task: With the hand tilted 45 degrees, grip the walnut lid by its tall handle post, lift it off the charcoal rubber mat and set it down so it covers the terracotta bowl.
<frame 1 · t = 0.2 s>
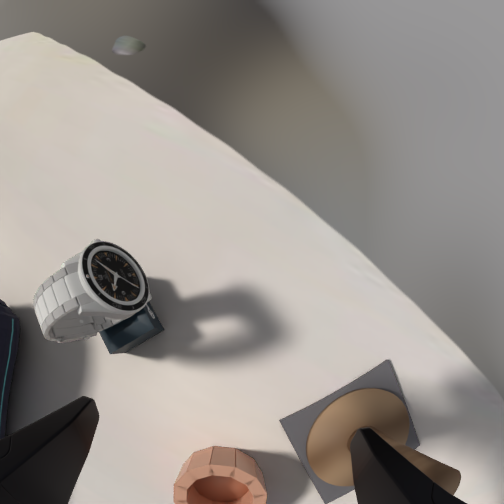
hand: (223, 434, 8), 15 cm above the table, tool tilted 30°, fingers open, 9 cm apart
lid: (359, 438, 20), resting on mat
watch: (130, 313, 23), on the table
bowl: (221, 478, 19), on the table
mat: (357, 437, 20), on the table
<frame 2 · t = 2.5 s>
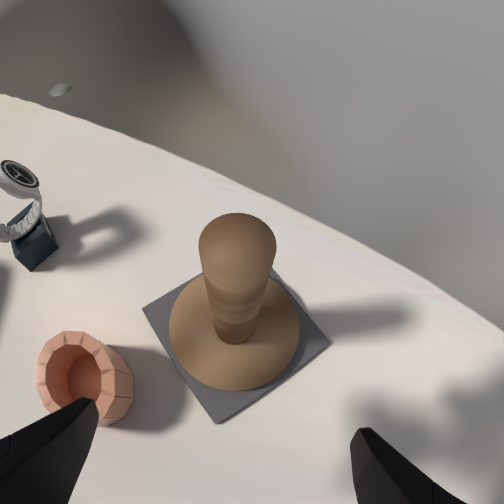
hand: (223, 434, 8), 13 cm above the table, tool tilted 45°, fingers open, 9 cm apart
lid: (234, 328, 22), resting on mat
watch: (39, 243, 25), on the table
bowl: (95, 384, 19), on the table
mat: (234, 329, 22), on the table
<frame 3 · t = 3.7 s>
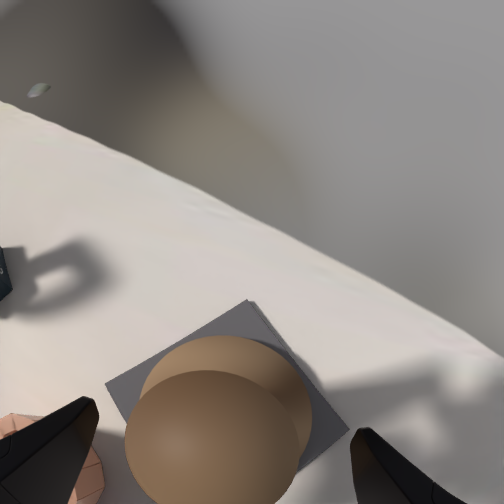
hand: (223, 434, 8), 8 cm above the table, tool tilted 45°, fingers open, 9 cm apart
lid: (224, 417, 15), resting on mat
bowl: (60, 464, 11), on the table
mat: (224, 417, 15), on the table
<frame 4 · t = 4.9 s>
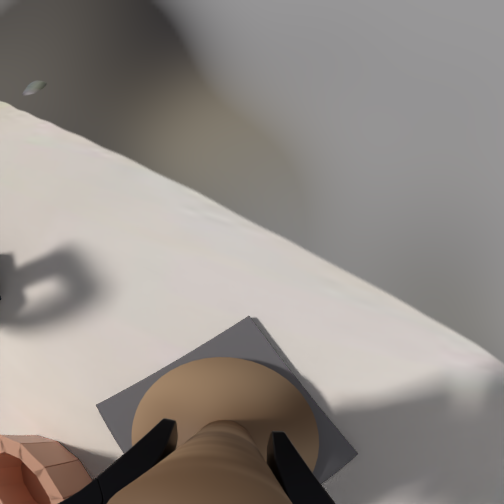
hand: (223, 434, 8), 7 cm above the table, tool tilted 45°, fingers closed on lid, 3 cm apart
lid: (224, 444, 13), resting on mat, touching gripper
bowl: (53, 483, 10), on the table
mat: (224, 443, 13), on the table
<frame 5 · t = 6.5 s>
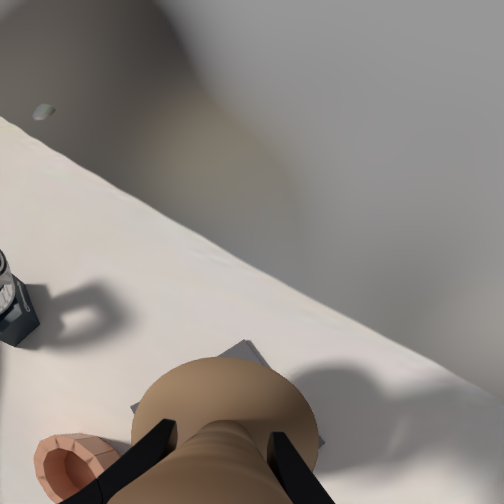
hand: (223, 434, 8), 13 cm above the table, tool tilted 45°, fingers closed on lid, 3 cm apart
lid: (224, 443, 13), point 7 cm above the table, touching gripper
watch: (20, 314, 21), on the table
bowl: (92, 471, 15), on the table
mat: (226, 431, 19), on the table
when the fingers open (12 cm above the table, at t = 8.3 s): lid drops 1 cm, resting on bowl.
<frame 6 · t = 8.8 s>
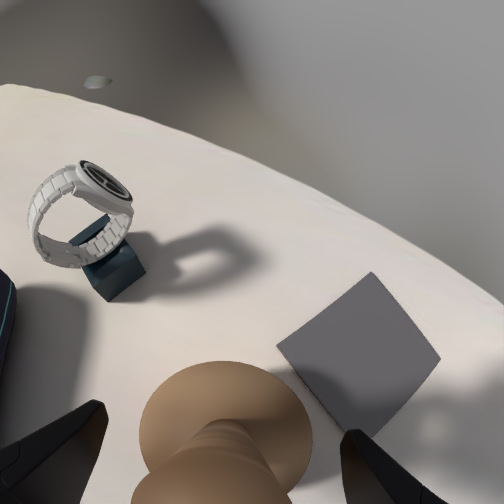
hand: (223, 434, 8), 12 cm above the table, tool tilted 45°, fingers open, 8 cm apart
lid: (225, 441, 14), point 4 cm above the table, touching bowl
watch: (113, 265, 24), on the table
mat: (368, 356, 21), on the table
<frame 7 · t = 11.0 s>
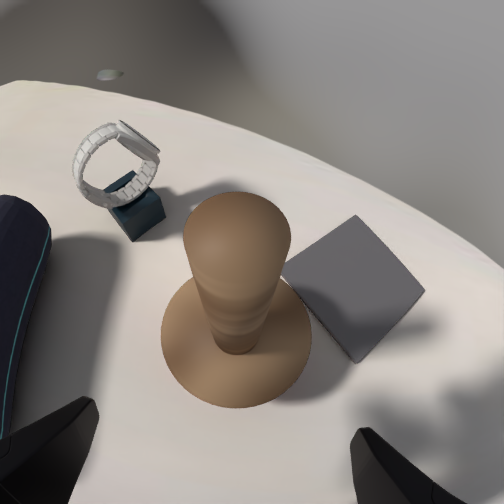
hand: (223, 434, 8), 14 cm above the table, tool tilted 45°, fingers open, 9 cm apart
lid: (236, 335, 19), point 4 cm above the table, touching bowl
watch: (136, 214, 28), on the table
portable speaker: (11, 340, 20), on the table
mat: (357, 281, 26), on the table
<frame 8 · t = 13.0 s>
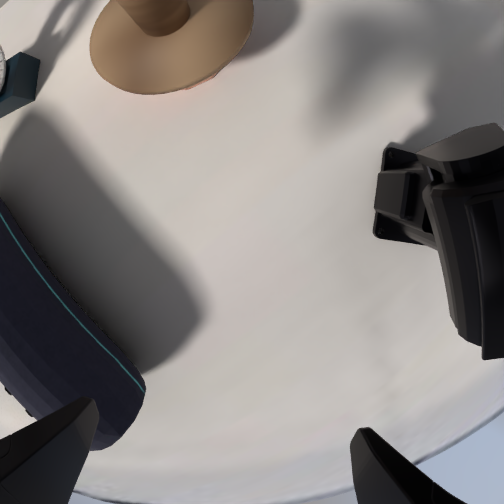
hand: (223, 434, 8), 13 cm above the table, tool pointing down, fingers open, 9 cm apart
lid: (168, 22, 12), point 4 cm above the table, touching bowl
watch: (19, 89, 16), on the table
portable speaker: (48, 291, 21), on the table
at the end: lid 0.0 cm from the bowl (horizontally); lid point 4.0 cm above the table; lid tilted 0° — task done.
